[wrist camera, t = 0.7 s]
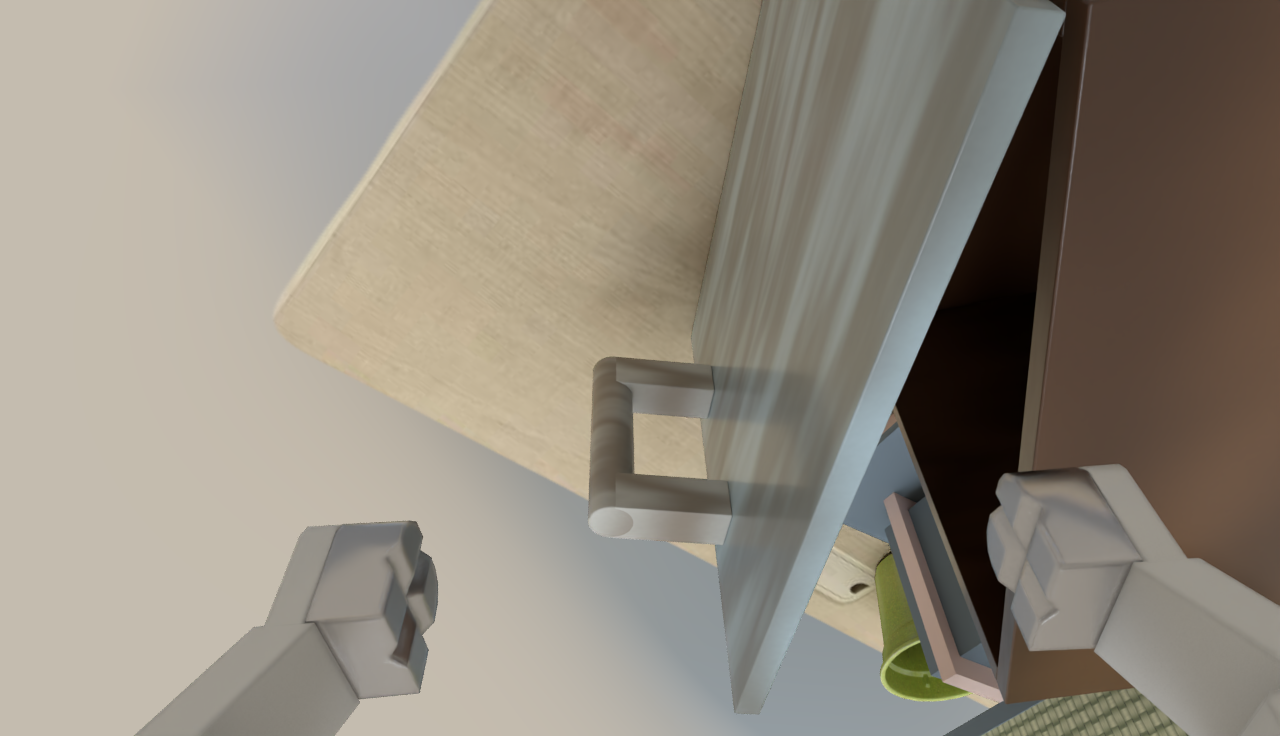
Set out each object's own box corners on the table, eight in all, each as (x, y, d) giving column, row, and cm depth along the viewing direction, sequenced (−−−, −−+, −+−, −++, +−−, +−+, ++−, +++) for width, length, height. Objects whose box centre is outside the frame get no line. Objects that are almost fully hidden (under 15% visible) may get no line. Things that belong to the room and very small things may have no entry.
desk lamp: (987, 308, 49) (1377, 963, 24) (1138, 399, 54) (1592, 1021, 29) (794, 487, 59) (926, 1088, 34) (937, 550, 64) (1145, 1114, 39)
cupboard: (860, 326, 50) (1004, 705, 31) (828, -173, 34) (1089, 1, 15) (1175, 267, 48) (1530, 638, 29) (1304, -297, 31) (2295, -271, 13)
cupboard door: (591, 328, 49) (577, 707, 31) (652, -193, 33) (697, -39, 15) (707, 338, 50) (759, 715, 32) (822, -166, 34) (1068, 13, 15)
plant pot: (999, 558, 65) (1043, 659, 58) (908, 615, 69) (939, 714, 63) (919, 513, 61) (957, 616, 54) (828, 577, 66) (853, 678, 59)
